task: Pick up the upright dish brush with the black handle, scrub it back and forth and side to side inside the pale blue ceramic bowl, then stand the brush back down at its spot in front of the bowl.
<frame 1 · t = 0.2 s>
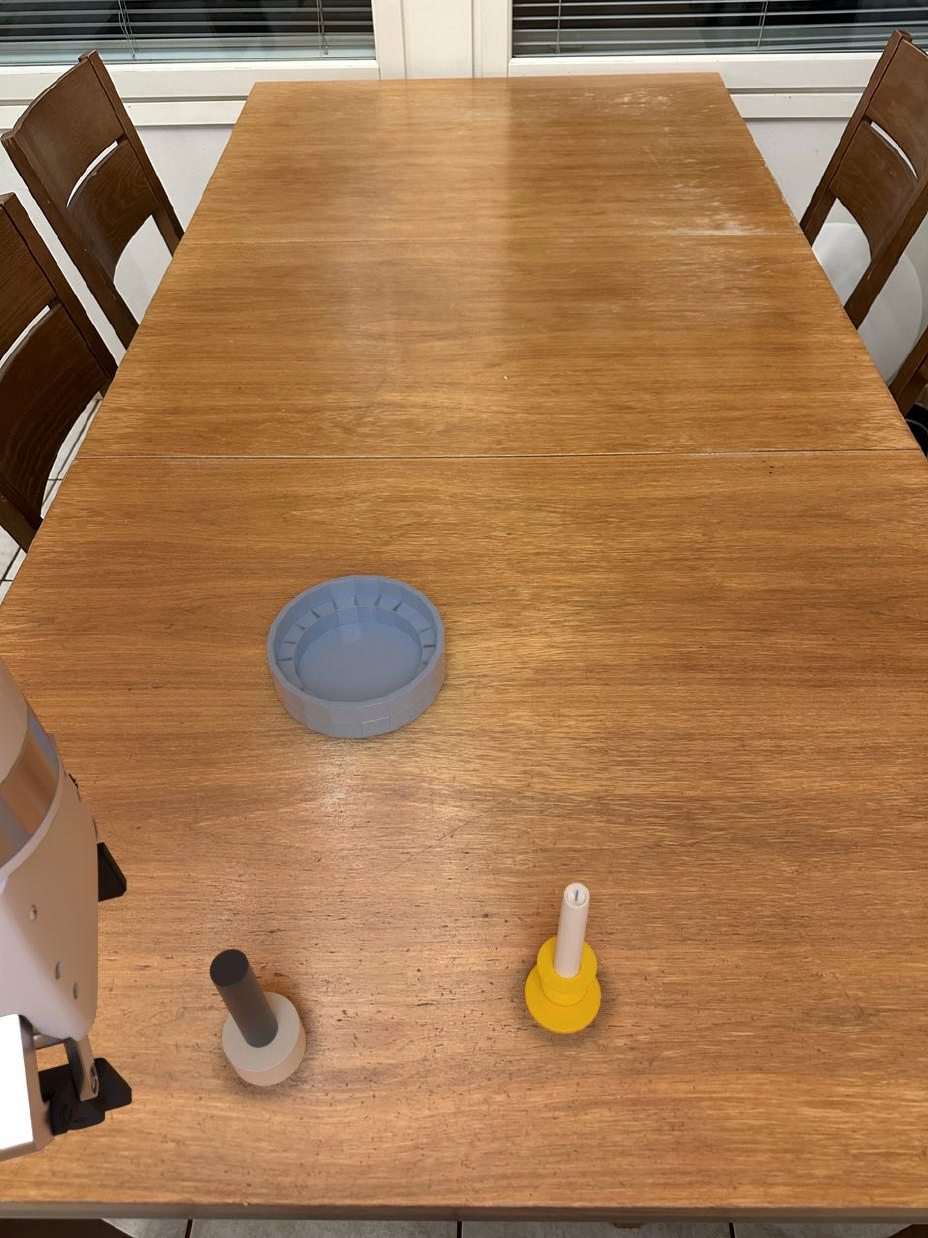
hand: (94, 994, 42), 23 cm above the table, tool pointing down, fingers open, 9 cm apart
bowl: (361, 673, 85), on the table
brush: (268, 1046, 63), on the table
candle: (562, 996, 65), on the table
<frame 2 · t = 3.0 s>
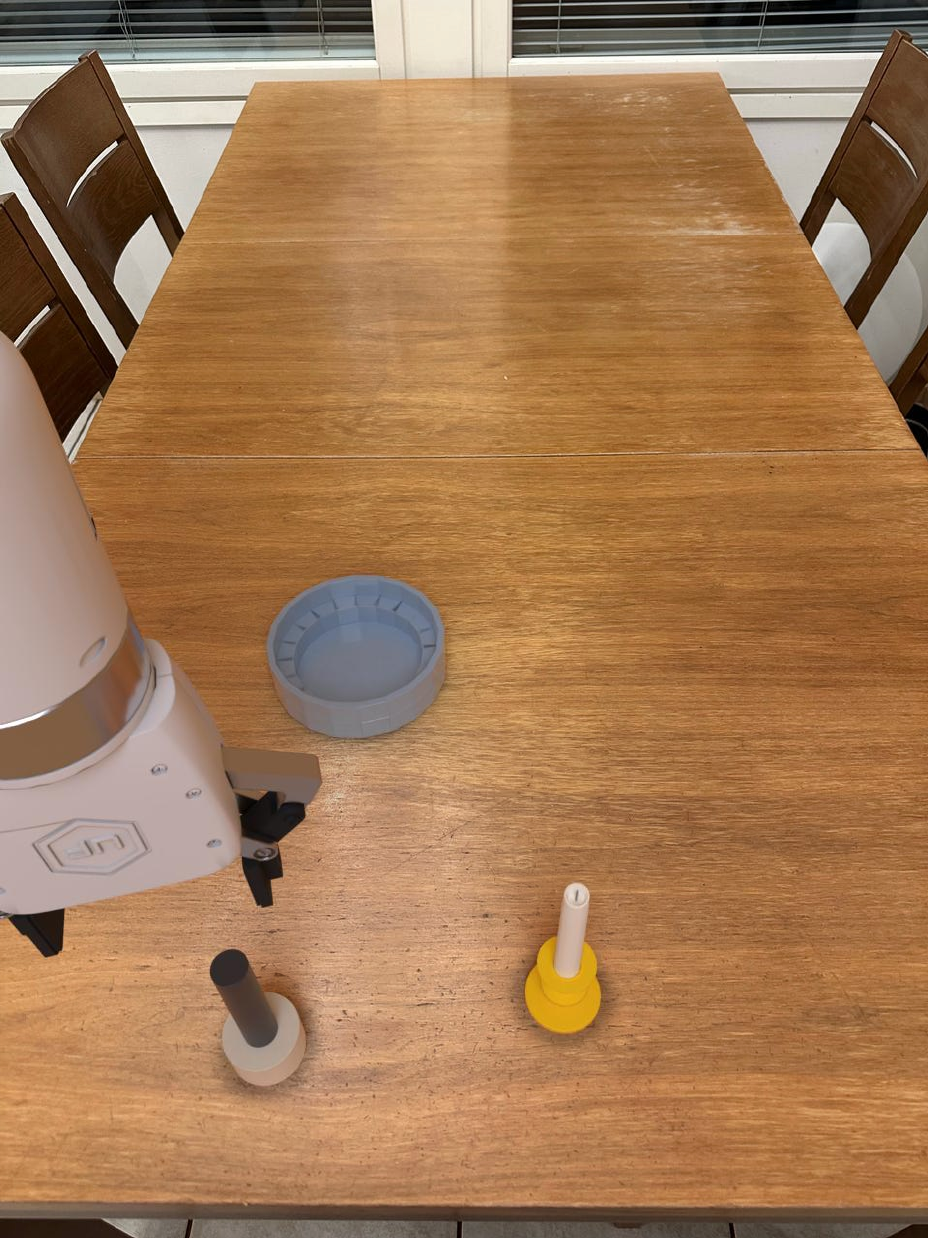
hand: (161, 902, 45), 24 cm above the table, tool pointing down, fingers open, 9 cm apart
nothing on the table moved.
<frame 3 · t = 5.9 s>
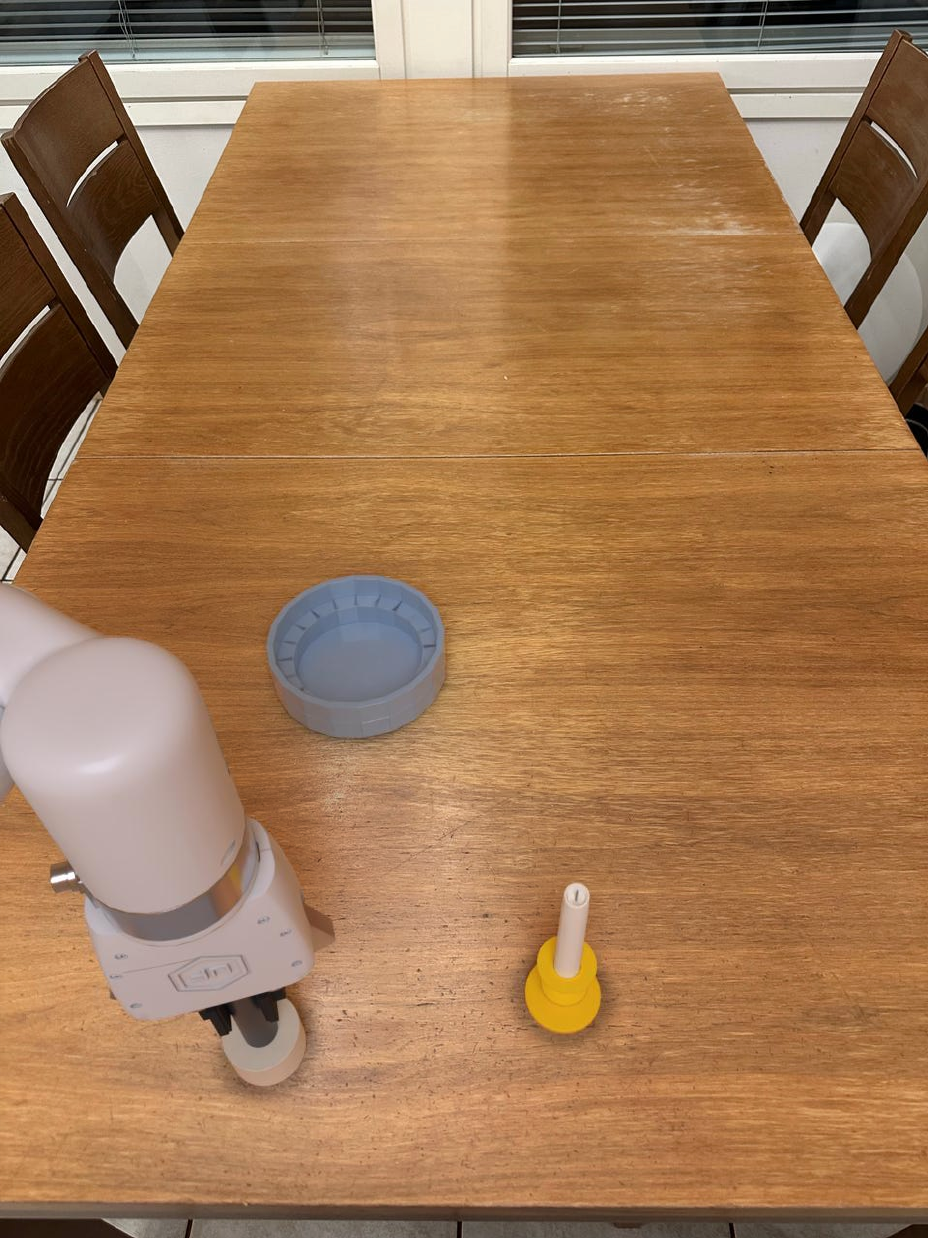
hand: (247, 1003, 58), 8 cm above the table, tool pointing down, fingers closed on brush
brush: (268, 1046, 63), on the table, touching gripper
everything else where it was.
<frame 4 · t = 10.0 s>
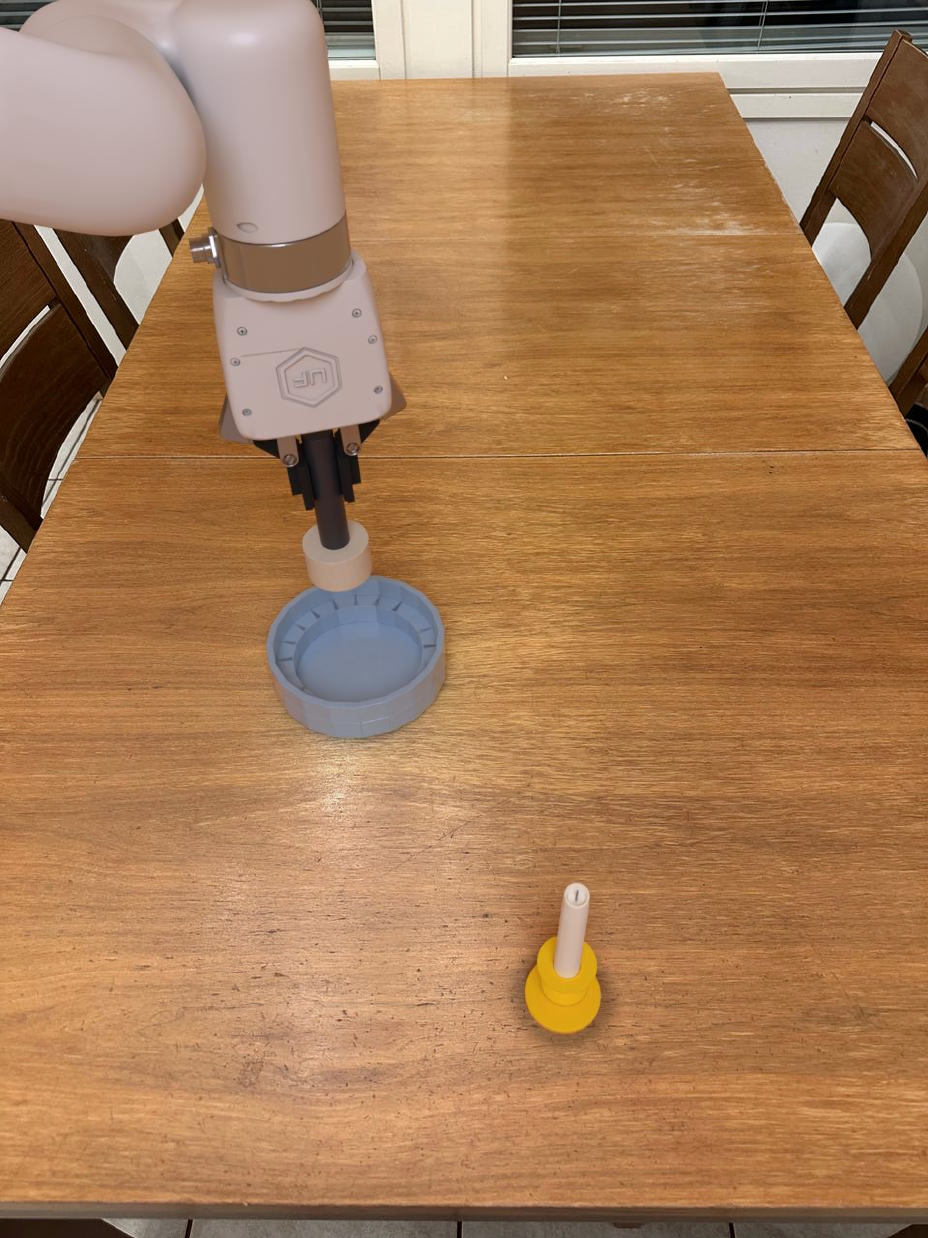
hand: (327, 492, 68), 22 cm above the table, tool pointing down, fingers closed on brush
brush: (340, 568, 73), point 15 cm above the table, touching gripper
everything else where it was.
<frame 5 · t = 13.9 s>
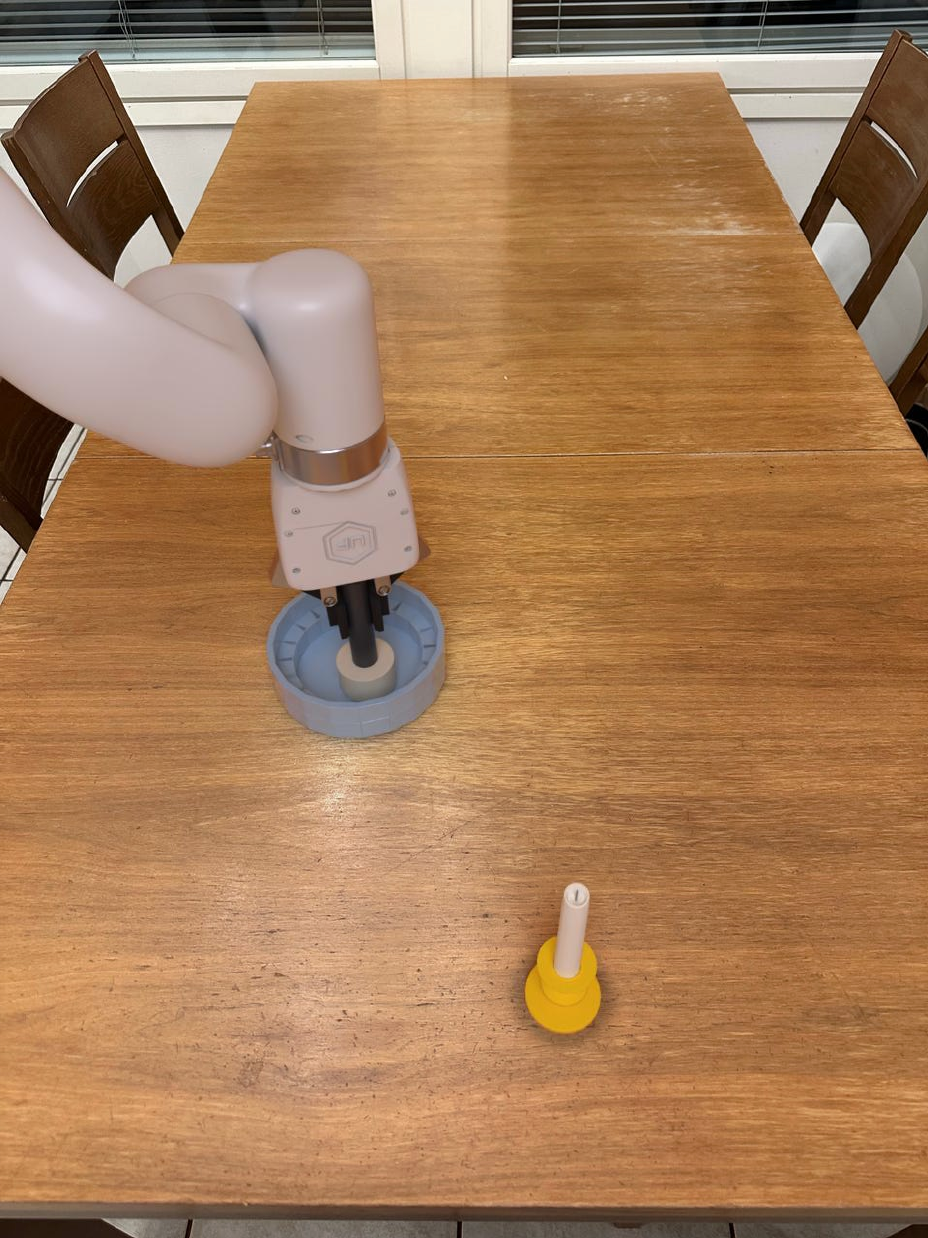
hand: (359, 622, 77), 9 cm above the table, tool pointing down, fingers closed on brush
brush: (368, 680, 83), point 1 cm above the table, touching gripper
everything else where it was.
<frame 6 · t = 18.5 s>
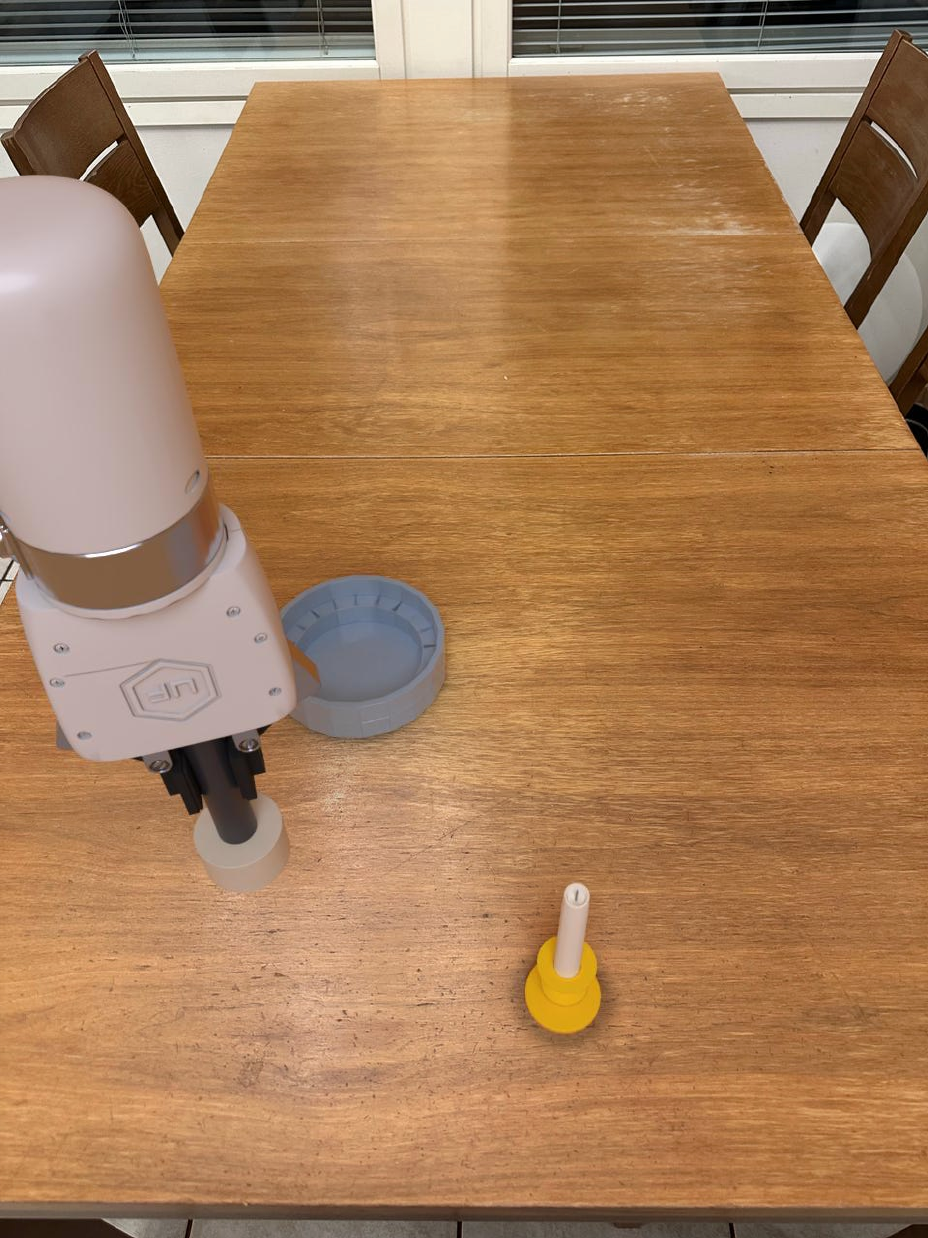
hand: (220, 782, 50), 23 cm above the table, tool pointing down, fingers closed on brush
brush: (247, 853, 56), point 16 cm above the table, touching gripper
everything else where it was.
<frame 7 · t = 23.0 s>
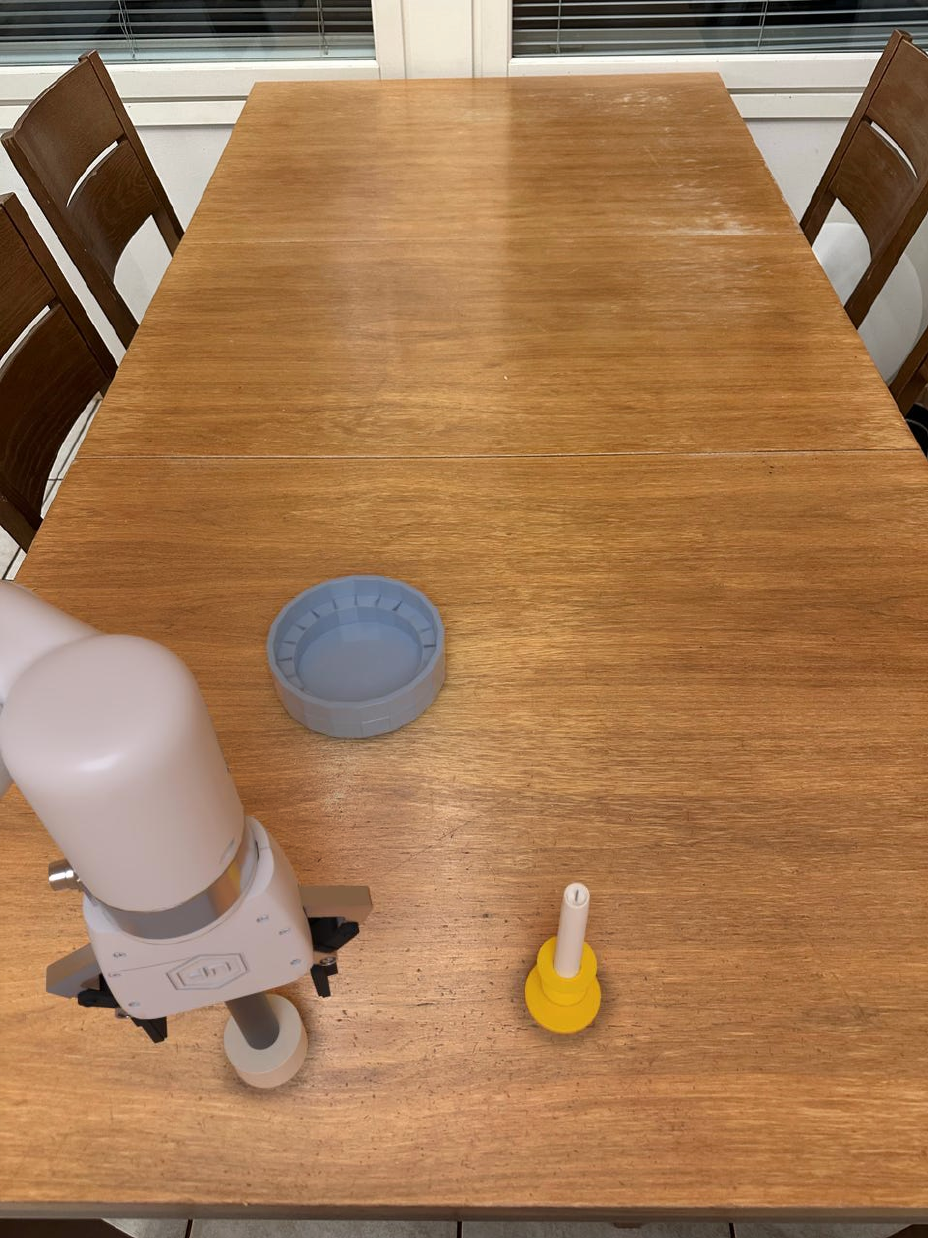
hand: (242, 995, 57), 9 cm above the table, tool pointing down, fingers open, 9 cm apart
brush: (270, 1048, 63), on the table
everything else where it was.
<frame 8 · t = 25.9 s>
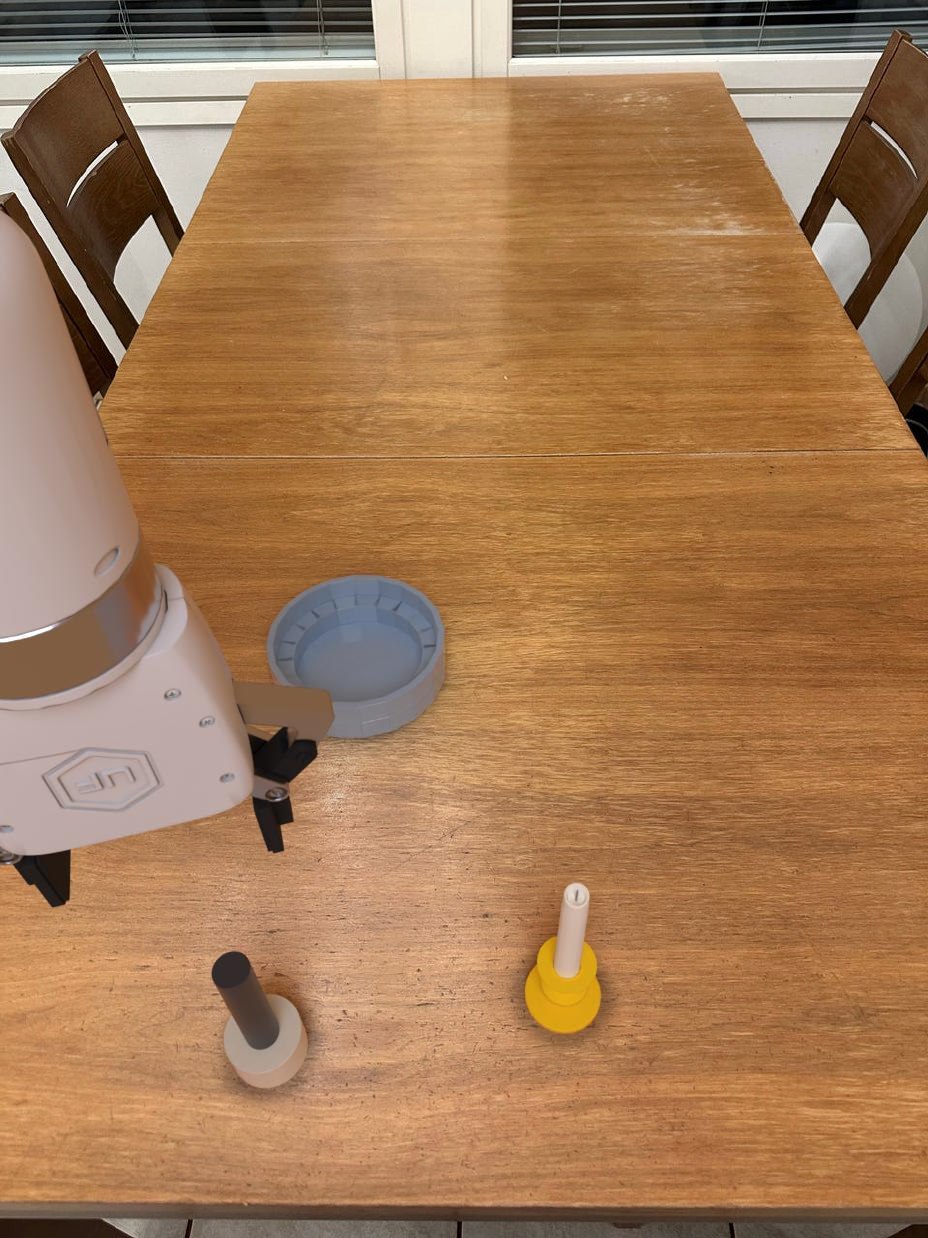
hand: (170, 851, 44), 26 cm above the table, tool pointing down, fingers open, 9 cm apart
nothing on the table moved.
at the end: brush 0.2 cm from the target spot on the table beside the bowl, on the table; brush tilted 0°; the gripper is holding nothing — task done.
